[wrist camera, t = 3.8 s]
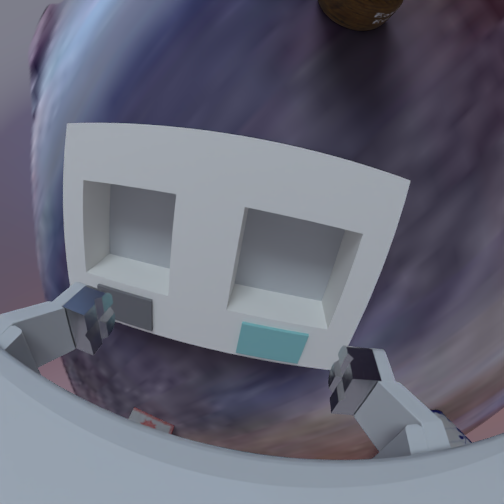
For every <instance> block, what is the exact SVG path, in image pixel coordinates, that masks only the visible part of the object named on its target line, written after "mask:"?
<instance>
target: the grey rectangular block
mask: <svg viewBox="0 0 504 504" xmlns="http://www.w3.org/2000/svg"><path fill="white" fill-rule="evenodd" d="M129 420H132V421H134V422H137V423H140V424H142V425H145V426H148V427H151V428H154V429H157V430H160V431H163V432H166V433H169V434H172V431H173V428H174V425H171V424H169V423H167V422H164V421H162V420H160V419H158V418H156V417H153V416H151V415H149V414H147V413H145V412H143V411H141V410H139V409H137V408H135V407H134V409H133V411H132V413H131V415H130V417H129Z"/></svg>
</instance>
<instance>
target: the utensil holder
mask: <svg viewBox="0 0 504 504" xmlns="http://www.w3.org/2000/svg"><path fill="white" fill-rule="evenodd" d="M318 2H319V5H320V7H321V9H322V10H323V12H324V13H325V14H326V15H327V16H328V17H329V18H330V19H331V20H333V21H334V22H336V23H337V24H339V25H341V26H343V27H346V28H348V29H352V30H358V31H367V30H372V29H375V28H377V27H379V26H381V25H382V24H383V23H385V22H386V21H387V20H388V19H389V18H390V17H391V16H392V15H393V14H394V13H395V12H396V11H397V9H398V8H399V7H400V6H401V4H402V2H403V0H318Z"/></svg>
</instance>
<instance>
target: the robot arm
mask: <svg viewBox="0 0 504 504" xmlns="http://www.w3.org/2000/svg"><path fill="white" fill-rule="evenodd" d="M112 304H113V299H112V295H111V294H110V293H109V292H106V291H103V290H100V289H98V288H95V287H92V286H89V285H86V284H83V283H81V282H75V283H74V284H73V285H72V286H70V287H69V288H68V289H67V290H66V291H64V292H63V293H62V294H61V295H60V296H58V297H57V298H56V299H55V300H54V301H53V302H50V301H48V302H44V303H41V304H37V305H33V306H30V307H26V308H22V309H18V310H15V311H11V312H7V313H4V314H0V504H504V433H502V434H499V435H496V436H493V437H490V438H487V439H483V440H480V441H477V442H473V443H470V444H466V445H462V446H458V447H454V448H451V447H450V443H449V440H448V437H447V434H446V431H445V428H444V425H443V422H442V420H440V419H439V418H438V417H437V416H436V415H435V414H434V413H433V412H432V411H431V410H429V409H428V408H427V407H426V406H425V405H424V404H423V403H422V402H421V401H419V400H418V399H417V398H416V397H415V396H414V395H413V394H412V393H411V392H410V391H408V390H407V389H406V388H405V387H404V386H403V385H402V384H401V383H400V382H396V381H395V378H394V375H393V372H392V370H391V367H390V364H389V361H388V358H387V356H386V353H385V351H384V350H383V349H374V348H370V349H369V348H361V347H352V346H344V345H343V346H342V348H341V349H340V351H339V353H338V357H339V360H338V361H336V362H334V363H333V365H332V367H331V370H330V374H329V380H328V384H329V389H330V390H331V391H332V392H333V394H332V395H331V397H330V405H331V413H335V414H347V415H354V417H355V419H356V420H357V421H358V423H359V424H360V426H361V427H362V428H363V430H364V431H365V433H366V434H367V435H368V437H369V438H370V440H371V441H372V442H373V444H374V445H375V446H376V448H377V449H378V451H379V453H378V454H377V455H376V456H375V457H374V458H372V459H363V460H318V459H300V458H288V457H278V456H270V455H262V454H256V453H249V452H243V451H238V450H232V449H227V448H223V447H218V446H213V445H209V444H205V443H201V442H197V441H193V440H189V439H186V438H182V437H179V436H175V435H172V434H169V433H166V432H163V431H160V430H157V429H154V428H151V427H148V426H145V425H142V424H140V423H137V422H134V421H132V420H129V419H127V418H124V417H122V416H119V415H117V414H115V413H112V412H110V411H108V410H105V409H103V408H101V407H99V406H97V405H95V404H93V403H90V402H88V401H86V400H84V399H82V398H80V397H78V396H77V395H75V394H73V393H71V392H69V391H67V390H65V389H64V388H61V387H60V386H58V385H56V384H55V383H53V382H51V381H50V380H48V379H46V378H45V377H43V376H41V374H40V372H39V370H38V367H40V366H42V365H44V364H46V363H48V362H50V361H52V360H54V359H56V358H58V357H60V356H62V355H64V354H66V353H68V352H70V351H72V350H74V349H75V348H77V349H79V350H82V351H84V352H87V353H89V354H92V355H94V354H95V353H96V352H97V350H98V349H99V348H100V346H101V345H102V339H103V338H106V337H108V336H109V335H110V334H111V332H112V330H113V328H114V325H115V313H114V311H113V310H112V308H111V305H112Z"/></svg>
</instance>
